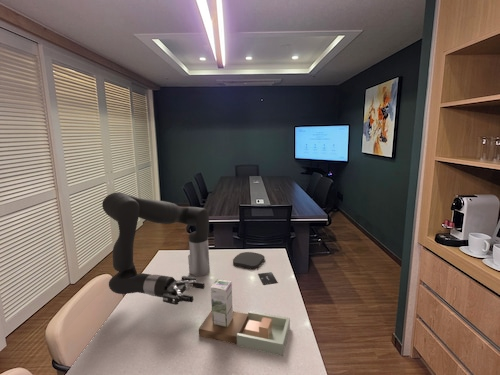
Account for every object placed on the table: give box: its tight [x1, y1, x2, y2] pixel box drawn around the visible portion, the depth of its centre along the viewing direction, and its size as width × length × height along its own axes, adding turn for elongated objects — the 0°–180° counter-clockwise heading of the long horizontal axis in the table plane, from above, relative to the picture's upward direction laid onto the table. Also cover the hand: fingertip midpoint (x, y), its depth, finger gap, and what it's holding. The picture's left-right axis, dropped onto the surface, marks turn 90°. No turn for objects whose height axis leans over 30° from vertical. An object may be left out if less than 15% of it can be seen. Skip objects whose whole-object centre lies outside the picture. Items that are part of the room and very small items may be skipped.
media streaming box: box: [232, 251, 266, 270], centre depth 150 cm, size 15×15×3 cm
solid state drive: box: [257, 271, 278, 286], centre depth 133 cm, size 7×10×1 cm
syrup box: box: [210, 279, 234, 327], centre depth 98 cm, size 6×6×14 cm
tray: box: [236, 310, 291, 357], centre depth 95 cm, size 15×13×4 cm
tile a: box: [245, 320, 261, 337], centre depth 96 cm, size 5×5×3 cm
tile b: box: [259, 317, 272, 339], centre depth 94 cm, size 5×5×3 cm
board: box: [198, 309, 248, 346], centre depth 99 cm, size 14×12×3 cm
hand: (198, 292), depth 100 cm, fingers open, 8 cm apart
